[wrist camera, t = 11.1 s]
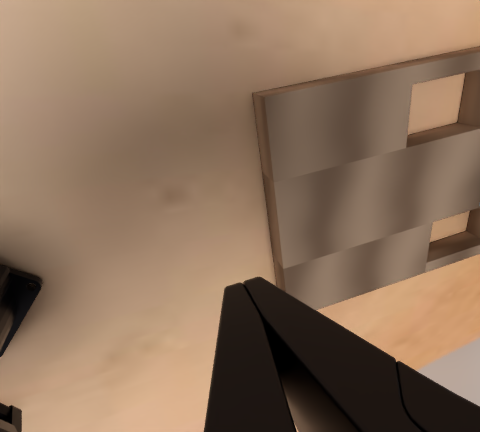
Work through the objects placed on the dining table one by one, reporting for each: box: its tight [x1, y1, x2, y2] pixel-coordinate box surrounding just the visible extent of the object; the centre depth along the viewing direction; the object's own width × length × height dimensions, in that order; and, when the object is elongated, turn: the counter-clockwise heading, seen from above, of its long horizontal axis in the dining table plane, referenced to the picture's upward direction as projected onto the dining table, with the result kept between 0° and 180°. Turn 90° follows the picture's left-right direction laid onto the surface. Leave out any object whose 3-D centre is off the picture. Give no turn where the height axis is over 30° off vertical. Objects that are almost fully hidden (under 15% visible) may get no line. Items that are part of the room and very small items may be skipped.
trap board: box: [253, 46, 480, 310], centre depth 21 cm, size 24×16×7 cm, turn 99°
